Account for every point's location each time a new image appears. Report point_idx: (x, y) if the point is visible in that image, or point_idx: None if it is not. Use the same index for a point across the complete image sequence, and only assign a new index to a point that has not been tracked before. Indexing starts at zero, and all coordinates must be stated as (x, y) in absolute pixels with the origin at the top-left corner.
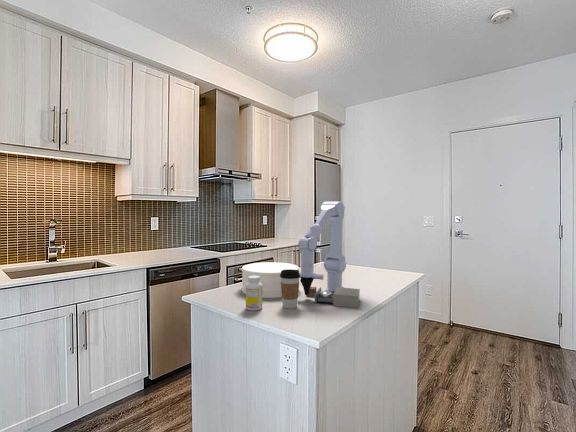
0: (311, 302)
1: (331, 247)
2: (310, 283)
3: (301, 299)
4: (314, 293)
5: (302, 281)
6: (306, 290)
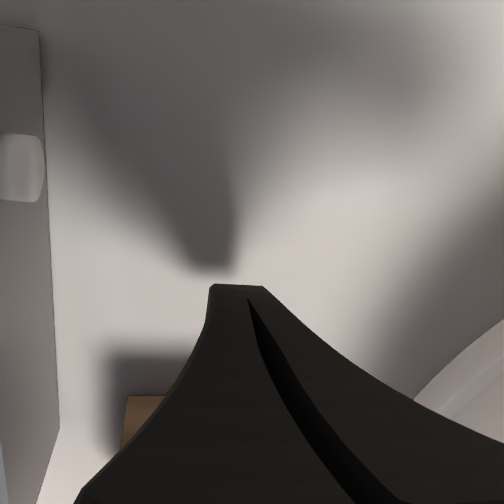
0: (119, 105)
1: None
2: (126, 446)
3: (302, 237)
4: (125, 431)
5: (493, 468)
6: (250, 320)
